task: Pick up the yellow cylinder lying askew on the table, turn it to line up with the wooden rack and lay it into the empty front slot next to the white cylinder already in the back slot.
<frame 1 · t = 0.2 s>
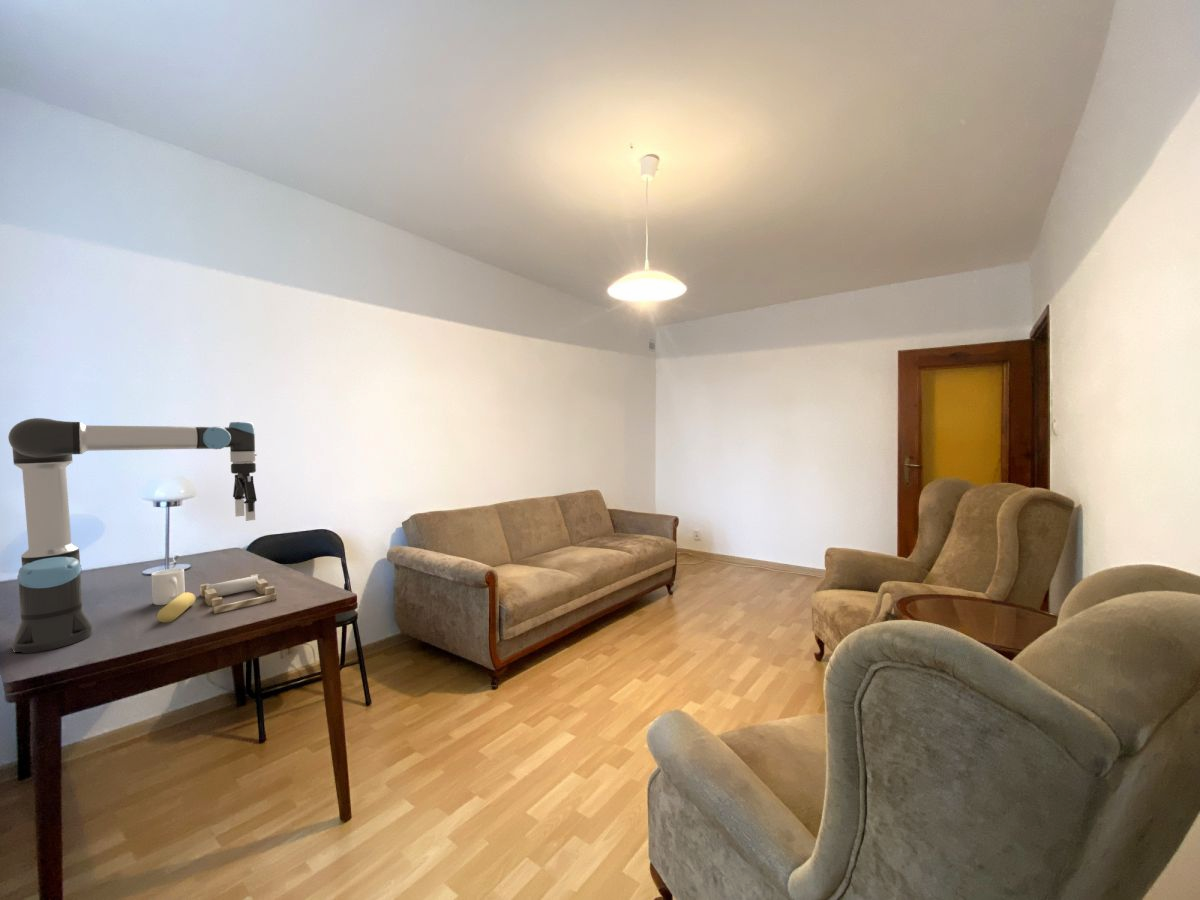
hand: (245, 518, 181), 27 cm above the table, fingers open, 13 cm apart
wooden rack: (237, 597, 173), on the table
mug: (170, 602, 168), on the table
yellow cylinder: (177, 614, 158), on the table
white cylinder: (233, 593, 178), resting in wooden rack
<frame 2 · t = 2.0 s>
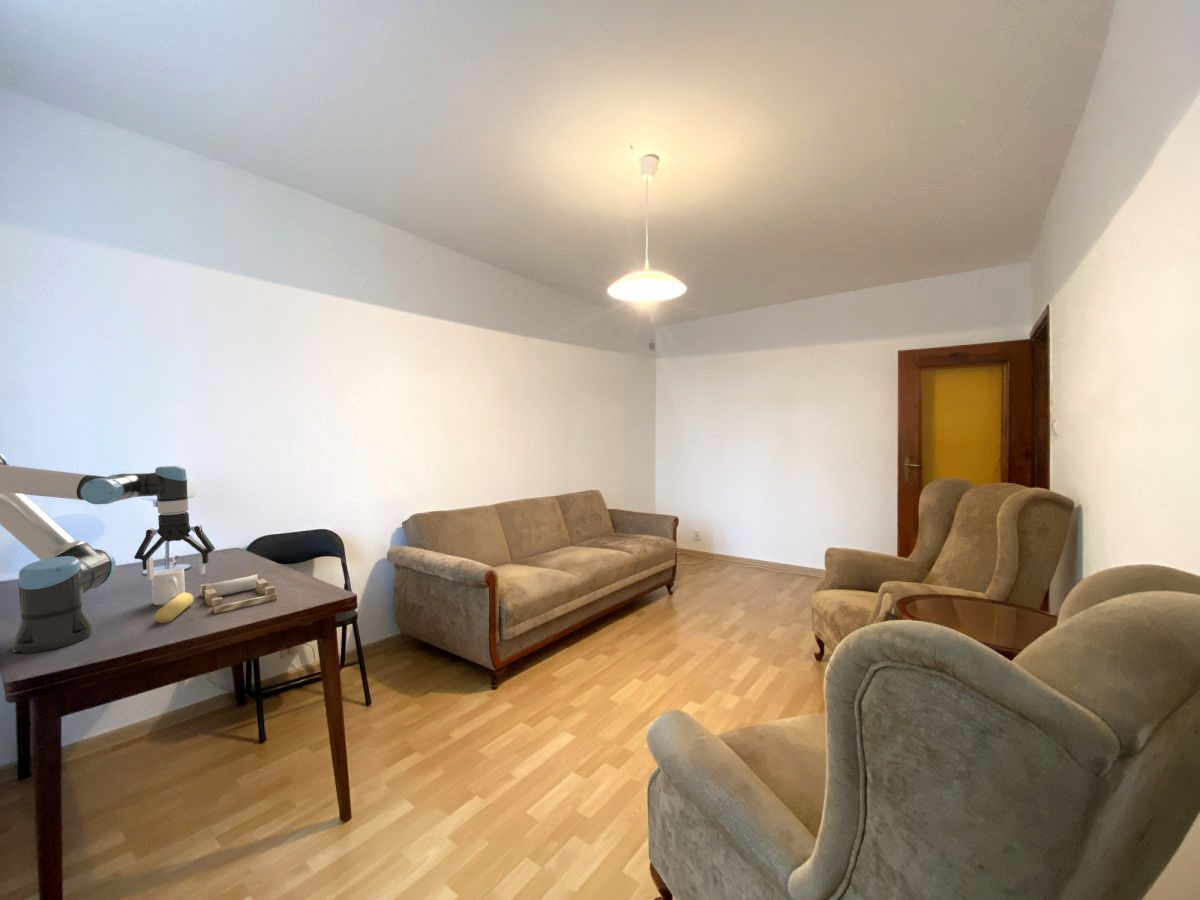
hand: (177, 576, 157), 13 cm above the table, fingers open, 13 cm apart
yellow cylinder: (177, 614, 158), on the table, tilted 13°
white cylinder: (233, 593, 178), resting in wooden rack, tilted 15°
everything else where it was.
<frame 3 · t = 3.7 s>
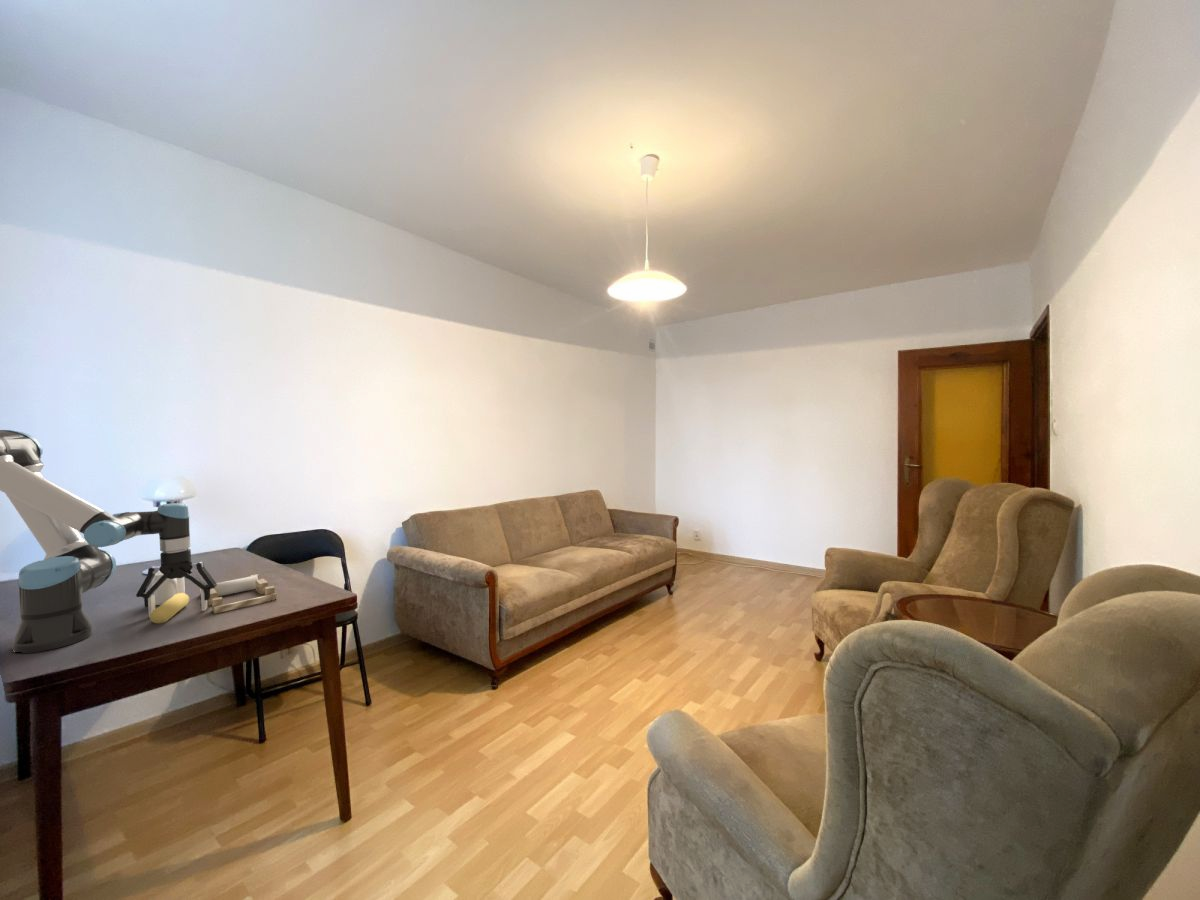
hand: (179, 613, 158), 0 cm above the table, fingers open, 13 cm apart
yellow cylinder: (177, 612, 158), on the table, tilted 42°
white cylinder: (233, 593, 178), resting in wooden rack
everything else where it was.
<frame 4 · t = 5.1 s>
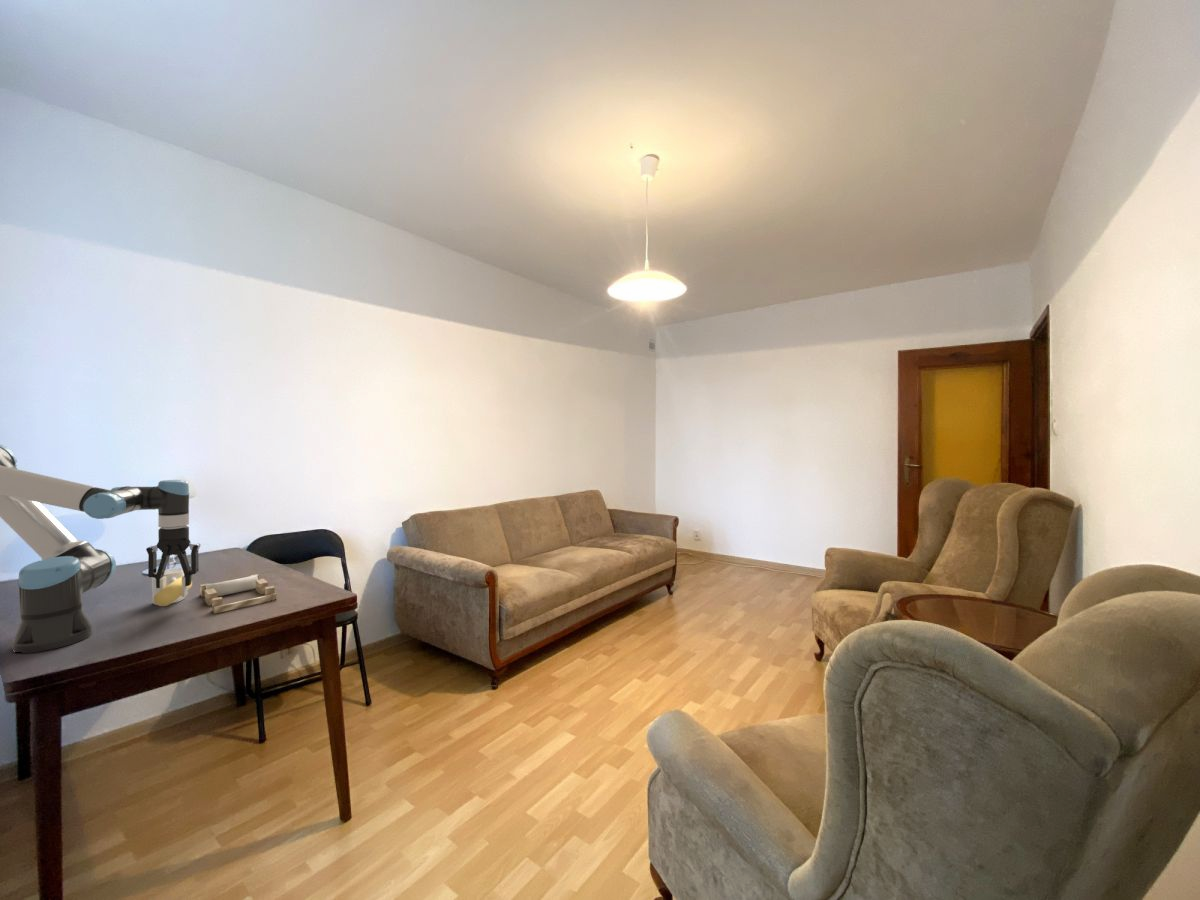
hand: (174, 596, 157), 6 cm above the table, fingers closed on yellow cylinder, 5 cm apart
yellow cylinder: (177, 597, 158), point 5 cm above the table, tilted 22°, touching gripper
everything else where it was.
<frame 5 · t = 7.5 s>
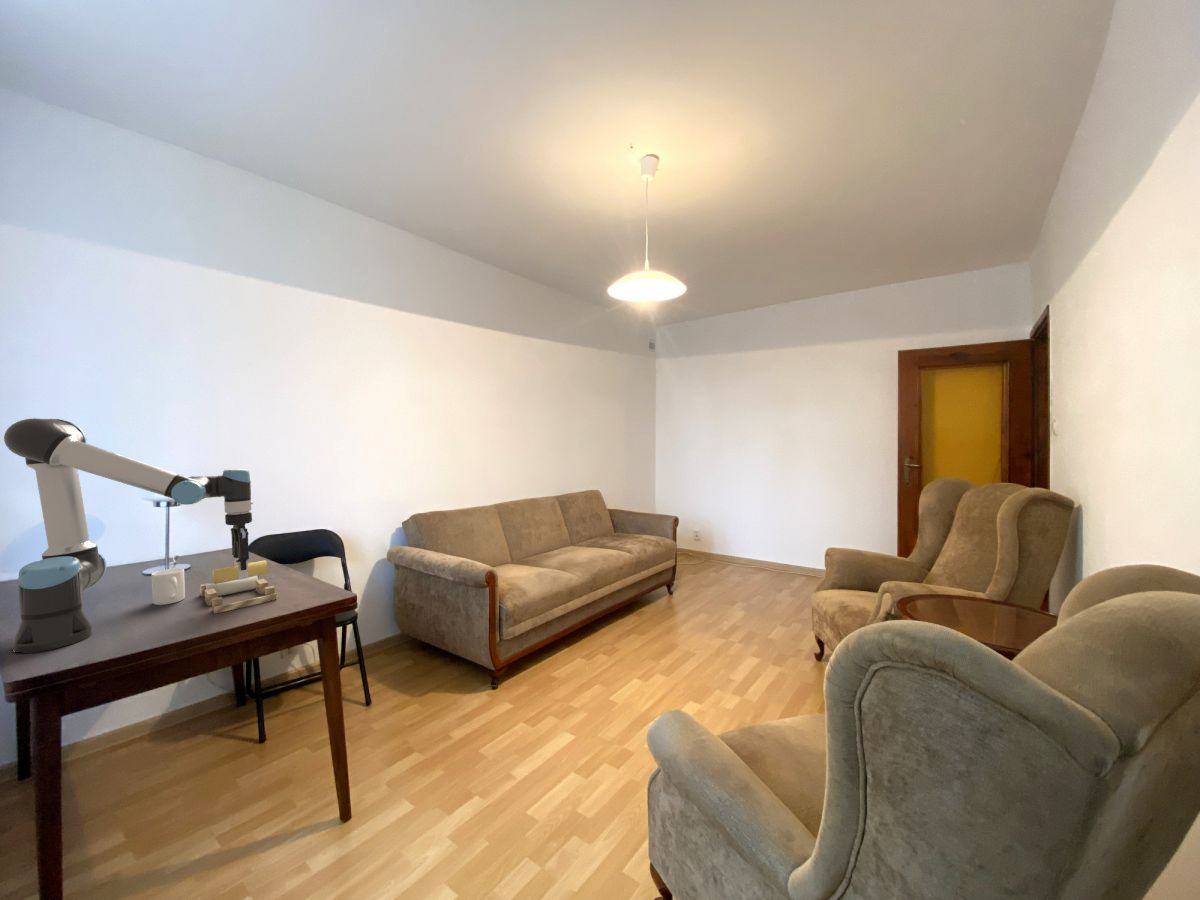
hand: (241, 577, 169), 9 cm above the table, fingers closed on yellow cylinder, 5 cm apart
yellow cylinder: (241, 578, 168), point 8 cm above the table, tilted 24°, touching gripper
everything else where it was.
when the fingers open (0 cm above the table, at t = 9.9 s): yellow cylinder stays where it is, resting in wooden rack.
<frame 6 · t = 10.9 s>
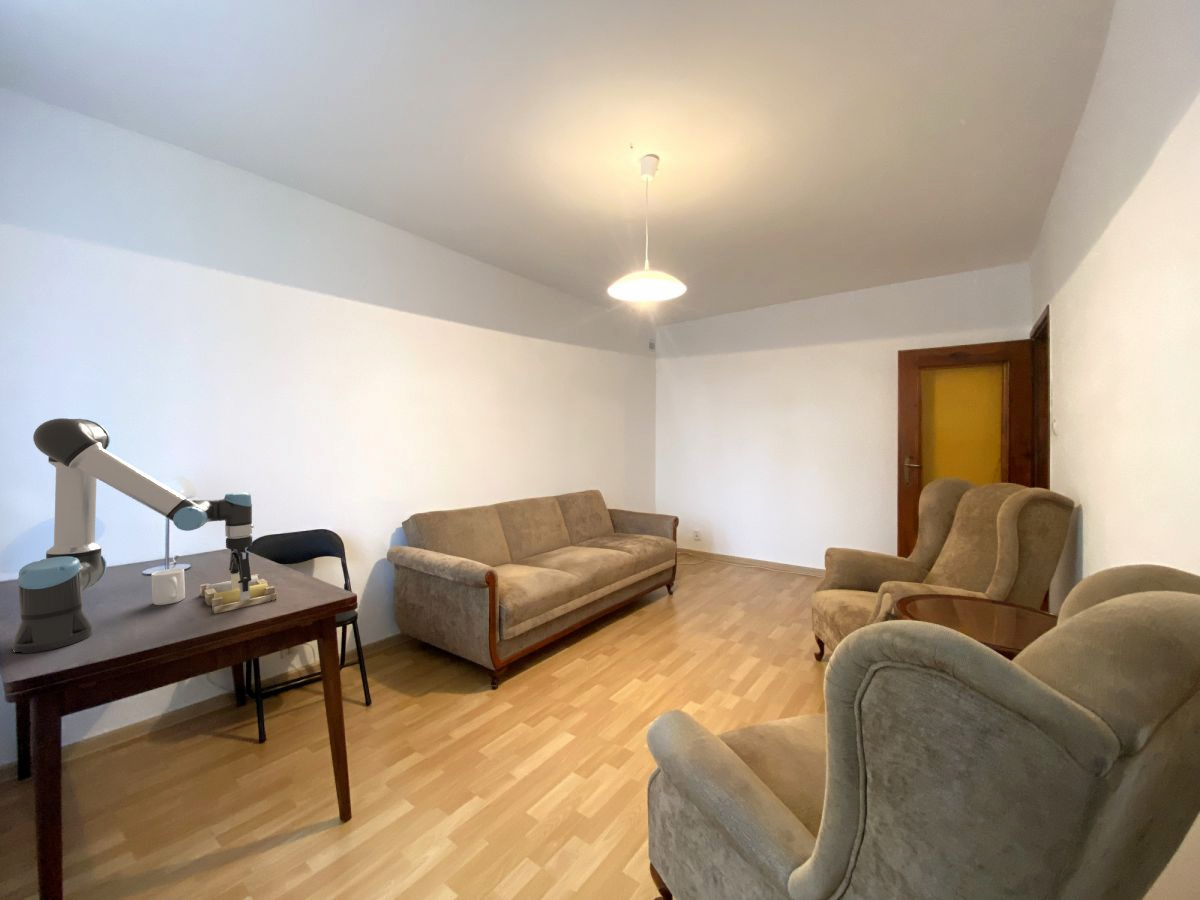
hand: (240, 595, 169), 2 cm above the table, fingers open, 12 cm apart
yellow cylinder: (242, 602, 168), resting in wooden rack, tilted 14°
white cylinder: (233, 593, 178), resting in wooden rack, tilted 12°
everything else where it was.
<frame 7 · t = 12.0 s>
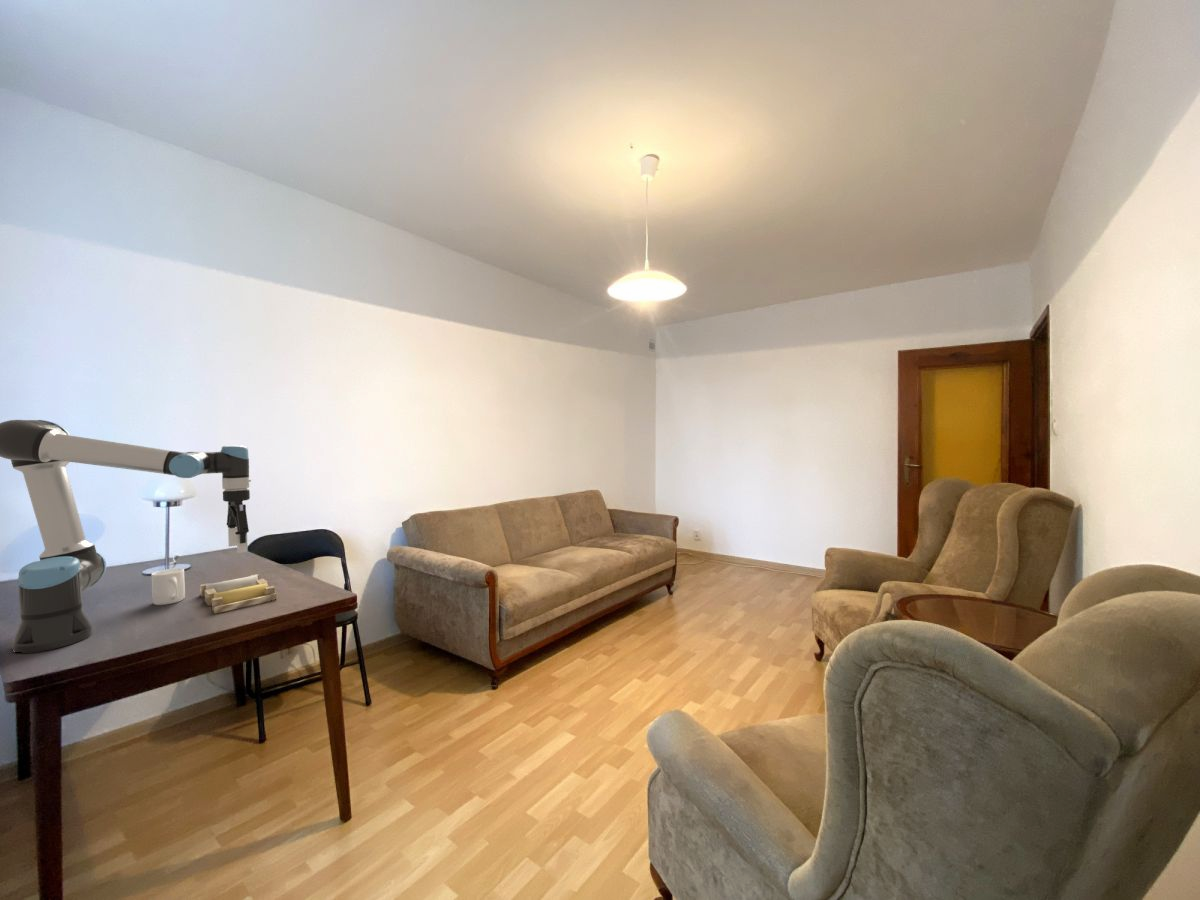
hand: (237, 549, 168), 19 cm above the table, fingers open, 13 cm apart
white cylinder: (233, 593, 178), resting in wooden rack
everything else where it was.
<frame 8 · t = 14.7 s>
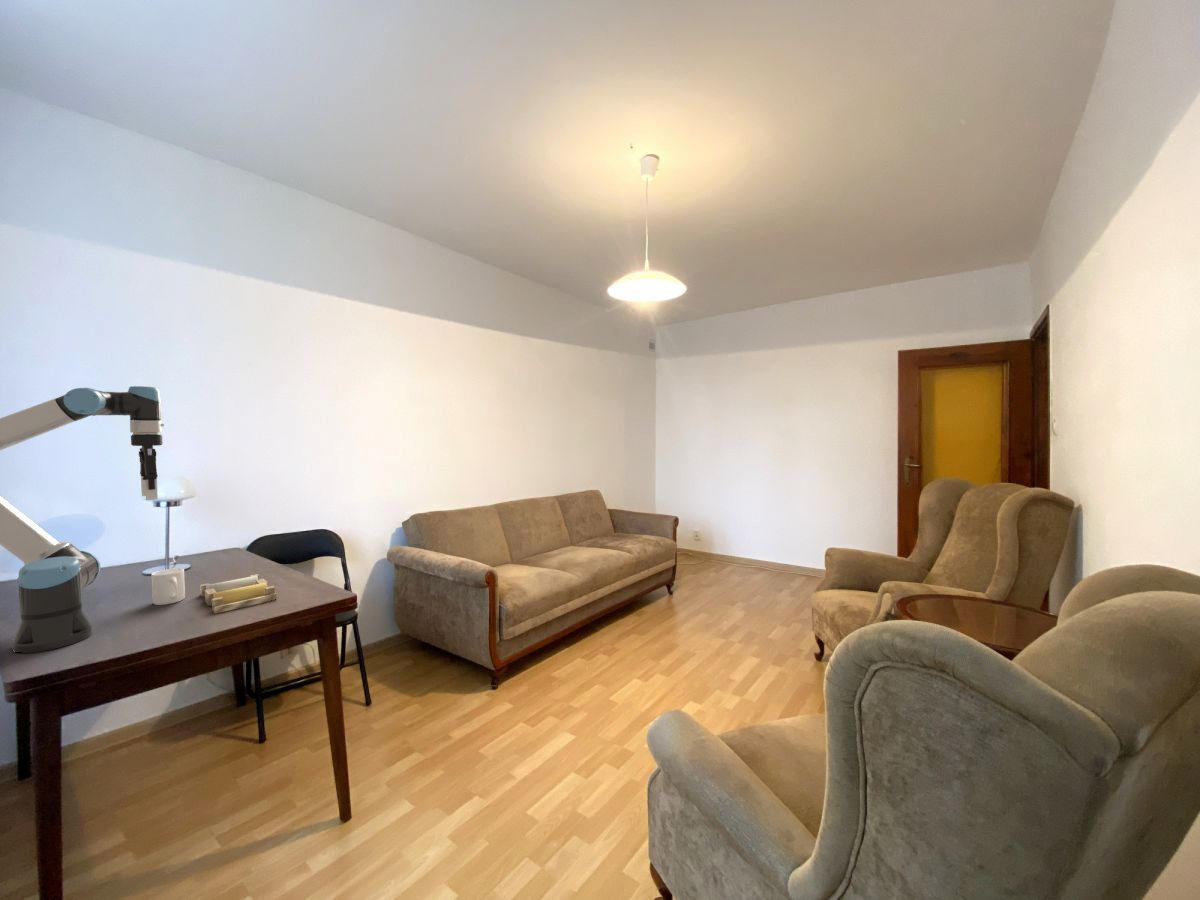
hand: (149, 497, 157), 39 cm above the table, fingers open, 13 cm apart
yellow cylinder: (242, 601, 168), resting in wooden rack, tilted 34°
everything else where it was.
at the end: yellow cylinder inside the target area (1.0 cm from its centre), resting in wooden rack; the gripper is holding nothing; white cylinder moved 0.5 cm from its start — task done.
